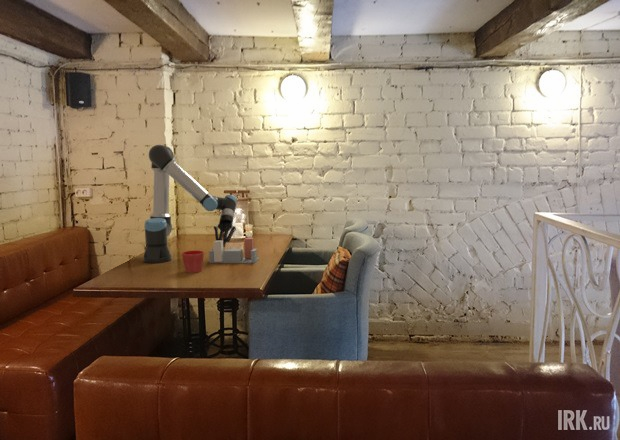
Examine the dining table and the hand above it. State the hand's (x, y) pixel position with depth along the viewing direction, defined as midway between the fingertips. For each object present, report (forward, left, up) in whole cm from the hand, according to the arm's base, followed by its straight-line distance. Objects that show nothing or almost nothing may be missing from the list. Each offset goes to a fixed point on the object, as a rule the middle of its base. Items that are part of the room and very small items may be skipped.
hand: (220, 251), depth 278 cm
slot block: (+8, +2, -6) cm, 10 cm away
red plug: (+15, +5, -6) cm, 17 cm away
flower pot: (-7, -26, -6) cm, 27 cm away
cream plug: (0, -4, -6) cm, 7 cm away
